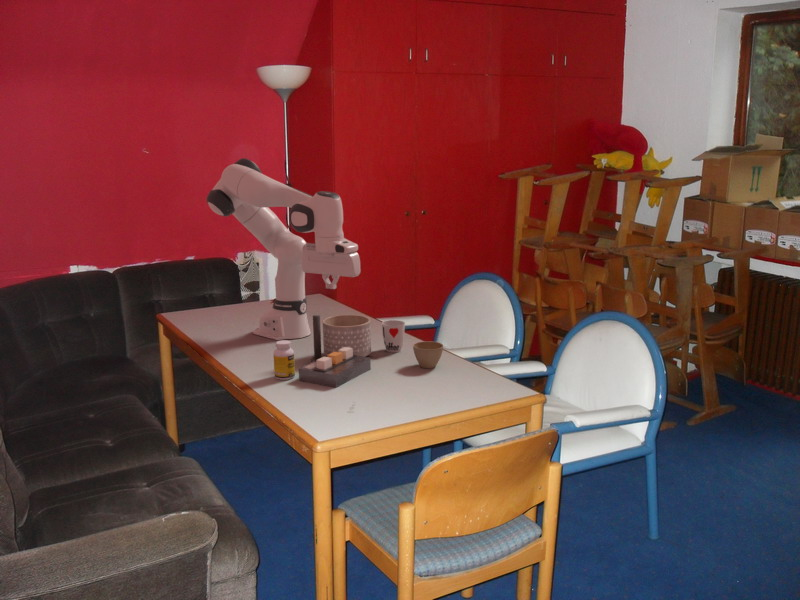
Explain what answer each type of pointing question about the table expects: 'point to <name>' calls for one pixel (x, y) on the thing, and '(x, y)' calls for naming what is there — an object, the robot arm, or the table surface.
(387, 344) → the cup
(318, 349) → the post
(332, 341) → the planter
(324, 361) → the light pink block
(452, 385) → the table surface
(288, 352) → the pill bottle
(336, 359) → the orange block
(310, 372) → the dark grey slotted tray
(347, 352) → the pale pink brick
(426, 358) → the flower pot
